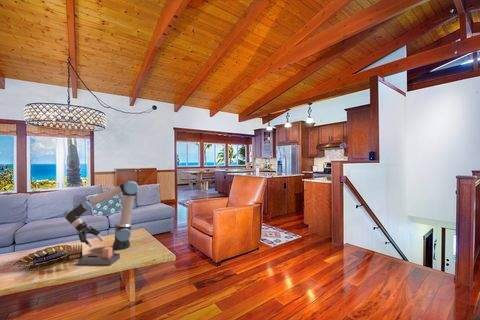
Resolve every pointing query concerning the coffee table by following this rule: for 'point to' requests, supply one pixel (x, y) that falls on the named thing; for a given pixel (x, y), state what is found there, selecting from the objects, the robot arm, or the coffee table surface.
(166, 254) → the coffee table surface
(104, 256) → the square peg
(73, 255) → the ammunition clip
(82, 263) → the bore plate
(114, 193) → the robot arm
